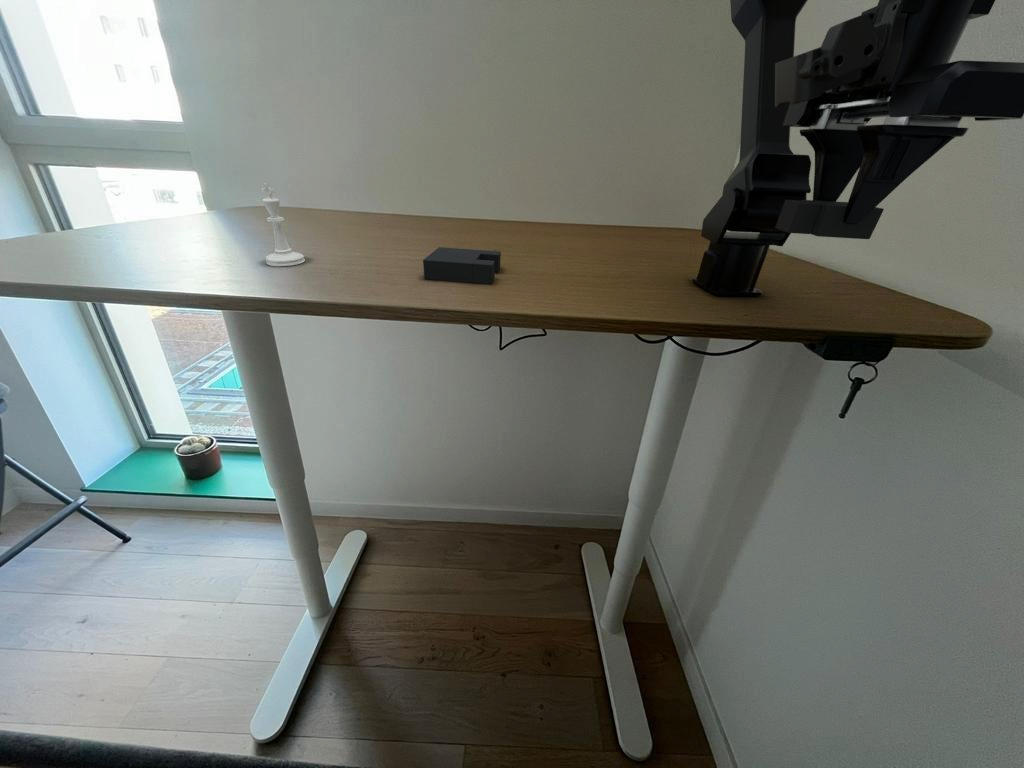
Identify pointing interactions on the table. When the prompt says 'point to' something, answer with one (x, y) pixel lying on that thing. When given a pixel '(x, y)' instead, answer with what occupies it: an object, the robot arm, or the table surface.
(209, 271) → the table surface
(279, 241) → the chess piece
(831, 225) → the dark grey block
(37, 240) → the table surface
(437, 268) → the charcoal pad
